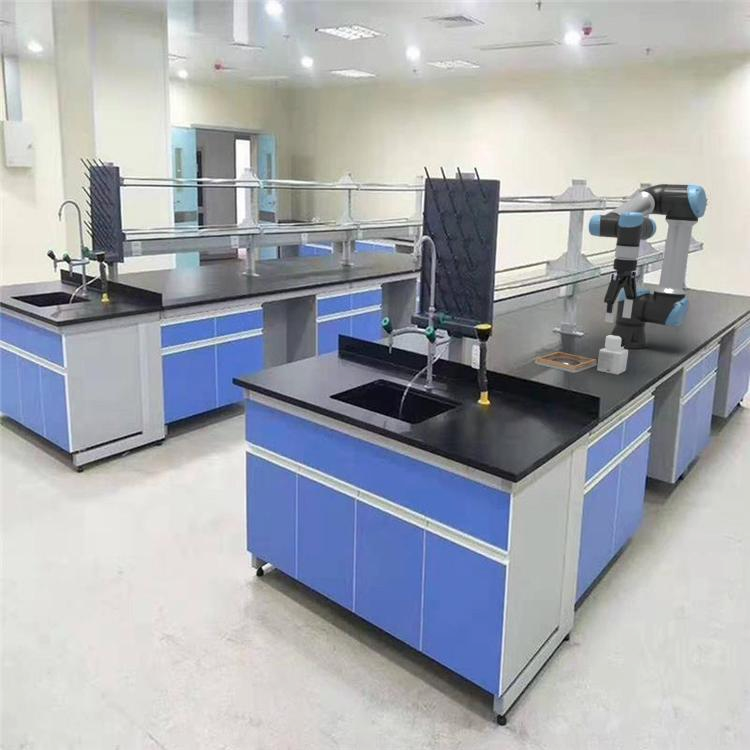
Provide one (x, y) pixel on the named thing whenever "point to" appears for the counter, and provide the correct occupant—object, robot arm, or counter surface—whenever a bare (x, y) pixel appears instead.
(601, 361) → the container
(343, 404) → the counter surface
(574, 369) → the wooden square frame
